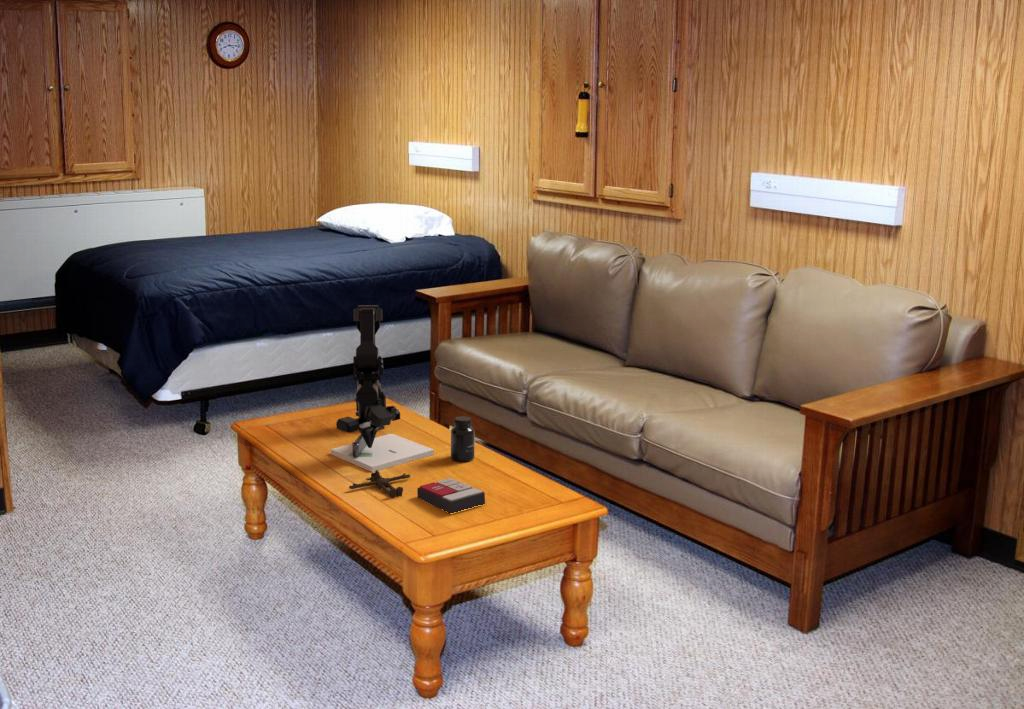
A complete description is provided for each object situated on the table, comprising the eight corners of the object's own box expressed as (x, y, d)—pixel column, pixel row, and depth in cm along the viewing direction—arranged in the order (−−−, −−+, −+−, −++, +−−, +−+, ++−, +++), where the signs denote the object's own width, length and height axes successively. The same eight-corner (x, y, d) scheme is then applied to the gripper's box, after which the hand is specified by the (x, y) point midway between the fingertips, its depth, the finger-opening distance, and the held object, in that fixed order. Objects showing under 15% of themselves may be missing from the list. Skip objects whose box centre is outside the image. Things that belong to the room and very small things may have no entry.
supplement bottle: (473, 462, 306) (474, 422, 303) (449, 462, 306) (449, 421, 303) (475, 454, 313) (475, 415, 310) (451, 454, 313) (451, 414, 310)
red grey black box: (450, 476, 286) (485, 489, 275) (451, 491, 287) (485, 505, 276) (416, 485, 280) (450, 499, 268) (417, 500, 280) (451, 515, 269)
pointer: (364, 438, 320) (364, 425, 319) (375, 439, 319) (375, 426, 318) (349, 457, 304) (349, 443, 303) (360, 457, 303) (360, 444, 302)
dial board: (330, 454, 312) (330, 448, 311) (391, 438, 326) (391, 433, 326) (372, 472, 298) (372, 466, 297) (434, 454, 312) (433, 449, 312)
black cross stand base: (365, 494, 274) (341, 472, 286) (365, 509, 276) (341, 486, 287) (428, 481, 284) (402, 460, 295) (427, 496, 285) (401, 474, 297)
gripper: (357, 408, 293) (359, 462, 297) (411, 394, 305) (412, 447, 309) (334, 399, 300) (336, 452, 304) (387, 386, 313) (389, 437, 317)
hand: (369, 447), depth 308 cm, fingers closed
